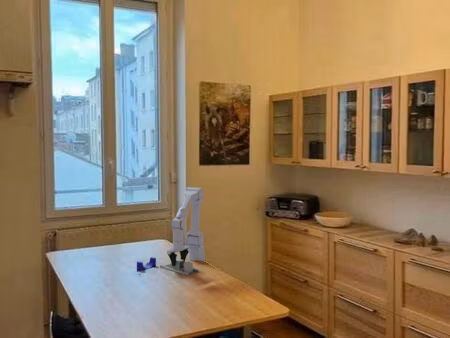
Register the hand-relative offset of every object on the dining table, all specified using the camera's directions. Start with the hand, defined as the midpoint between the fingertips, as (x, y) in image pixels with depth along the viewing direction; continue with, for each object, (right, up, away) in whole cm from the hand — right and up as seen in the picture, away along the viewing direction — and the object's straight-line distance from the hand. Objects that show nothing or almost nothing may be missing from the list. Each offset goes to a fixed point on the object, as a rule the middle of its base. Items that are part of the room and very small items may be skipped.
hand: (178, 264), depth 255 cm
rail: (+1, -4, 0) cm, 4 cm away
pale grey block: (0, -2, 0) cm, 2 cm away
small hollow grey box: (+6, -3, -5) cm, 8 cm away
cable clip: (-18, -4, +3) cm, 19 cm away
